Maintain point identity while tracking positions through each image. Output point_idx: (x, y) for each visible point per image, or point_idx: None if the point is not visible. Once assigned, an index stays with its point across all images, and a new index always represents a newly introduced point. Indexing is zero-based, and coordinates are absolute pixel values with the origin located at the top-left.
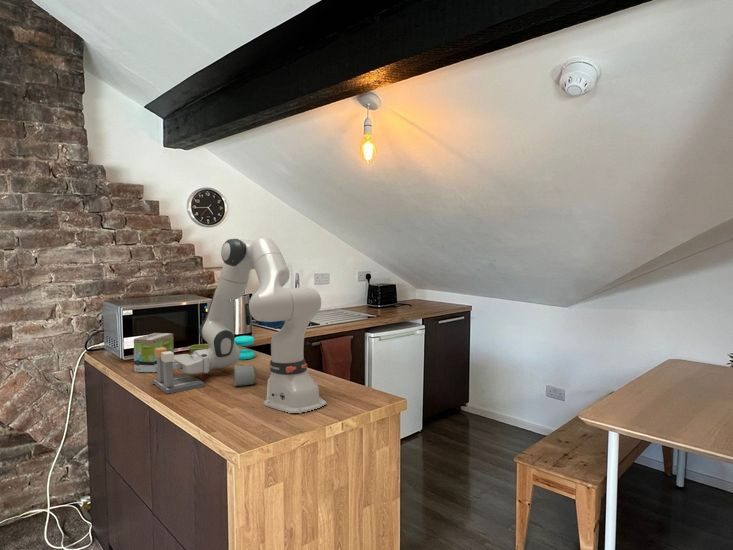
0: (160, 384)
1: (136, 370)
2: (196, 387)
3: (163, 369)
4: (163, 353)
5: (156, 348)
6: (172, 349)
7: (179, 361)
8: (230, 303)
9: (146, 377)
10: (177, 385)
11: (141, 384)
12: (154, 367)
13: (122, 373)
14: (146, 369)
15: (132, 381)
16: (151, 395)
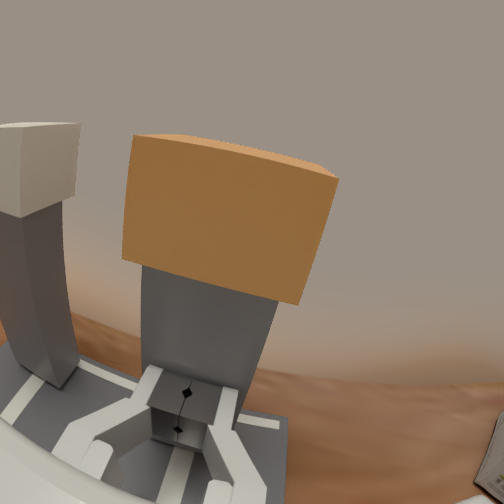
0: (130, 383)
1: (501, 416)
2: None
3: (60, 267)
4: (41, 122)
5: (294, 158)
6: None
7: (48, 457)
8: None
9: (424, 446)
10: (15, 394)
11: (306, 394)
12: (497, 465)
13: (494, 390)
14: (497, 442)
15: (384, 389)
16: (87, 319)
